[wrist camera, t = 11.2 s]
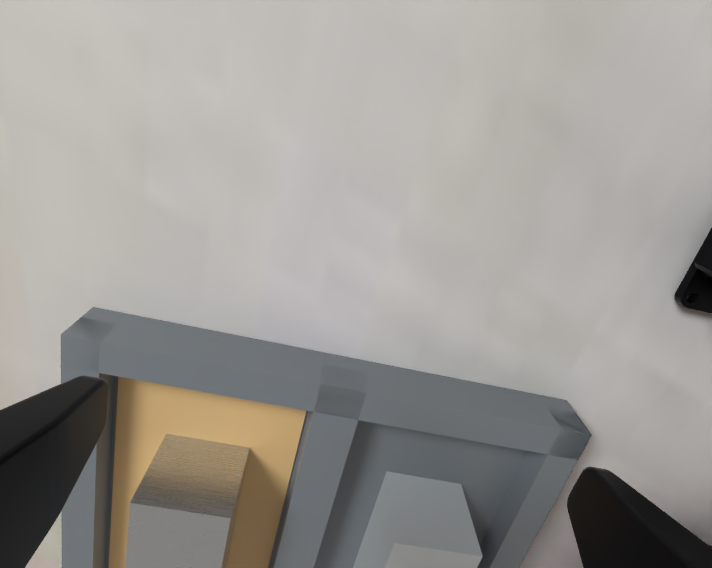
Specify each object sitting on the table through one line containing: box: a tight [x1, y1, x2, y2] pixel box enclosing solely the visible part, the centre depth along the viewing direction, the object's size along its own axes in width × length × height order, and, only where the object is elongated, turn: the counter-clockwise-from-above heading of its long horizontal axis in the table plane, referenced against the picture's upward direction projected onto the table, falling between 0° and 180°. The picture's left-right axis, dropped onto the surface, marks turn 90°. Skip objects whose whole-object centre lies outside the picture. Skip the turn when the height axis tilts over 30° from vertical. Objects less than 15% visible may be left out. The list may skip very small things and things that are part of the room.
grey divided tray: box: [61, 307, 591, 568], centre depth 23 cm, size 23×21×5 cm
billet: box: [125, 434, 250, 568], centre depth 22 cm, size 4×10×4 cm, turn 166°
